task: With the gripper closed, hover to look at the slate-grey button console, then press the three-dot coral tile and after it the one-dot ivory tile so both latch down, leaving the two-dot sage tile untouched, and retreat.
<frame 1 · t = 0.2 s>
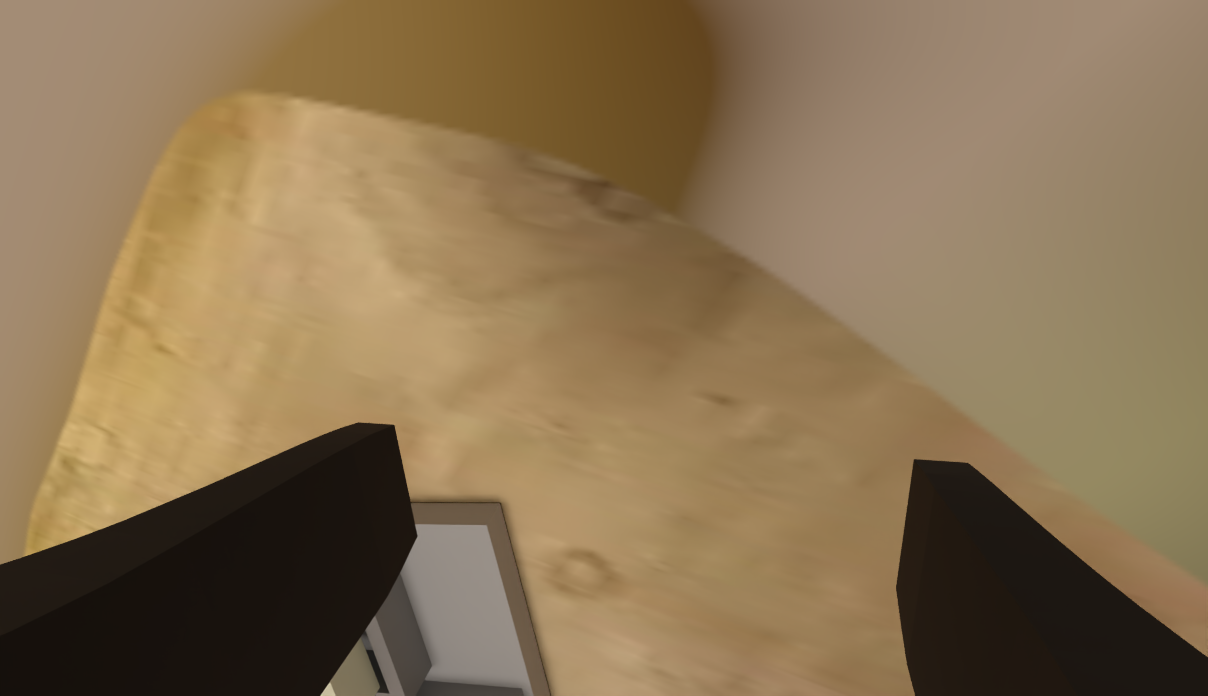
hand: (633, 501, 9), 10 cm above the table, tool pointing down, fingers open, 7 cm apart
tile sage: (289, 659, 23), point 4 cm above the table, slide at 0.0 cm
console: (384, 653, 28), on the table
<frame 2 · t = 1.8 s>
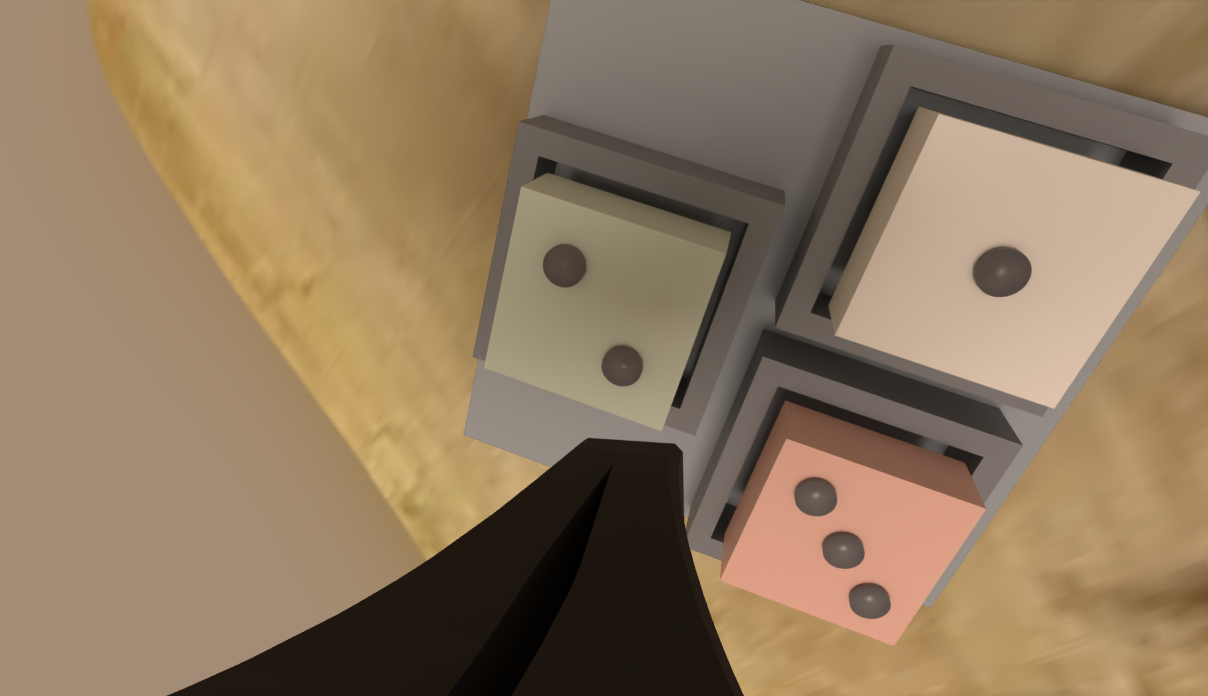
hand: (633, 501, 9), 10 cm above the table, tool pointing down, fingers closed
tile sage: (603, 303, 15), point 4 cm above the table, slide at 0.0 cm
tile ivory: (987, 258, 13), point 4 cm above the table, slide at 0.0 cm
console: (773, 301, 18), on the table
tile coral: (839, 525, 16), point 4 cm above the table, slide at 0.0 cm
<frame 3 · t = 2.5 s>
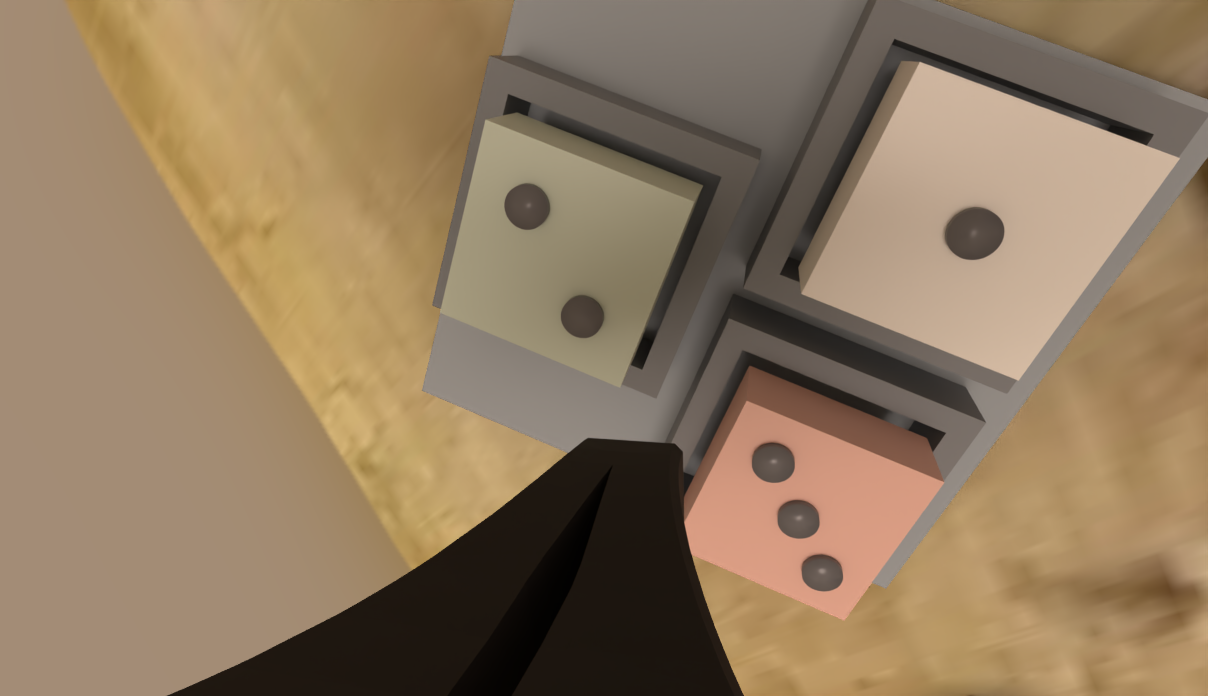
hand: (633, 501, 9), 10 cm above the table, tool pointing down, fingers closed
tile sage: (567, 251, 15), point 4 cm above the table, slide at 0.0 cm
tile ivory: (961, 222, 13), point 4 cm above the table, slide at 0.0 cm
console: (745, 267, 18), on the table
tile coral: (797, 495, 16), point 4 cm above the table, slide at 0.0 cm
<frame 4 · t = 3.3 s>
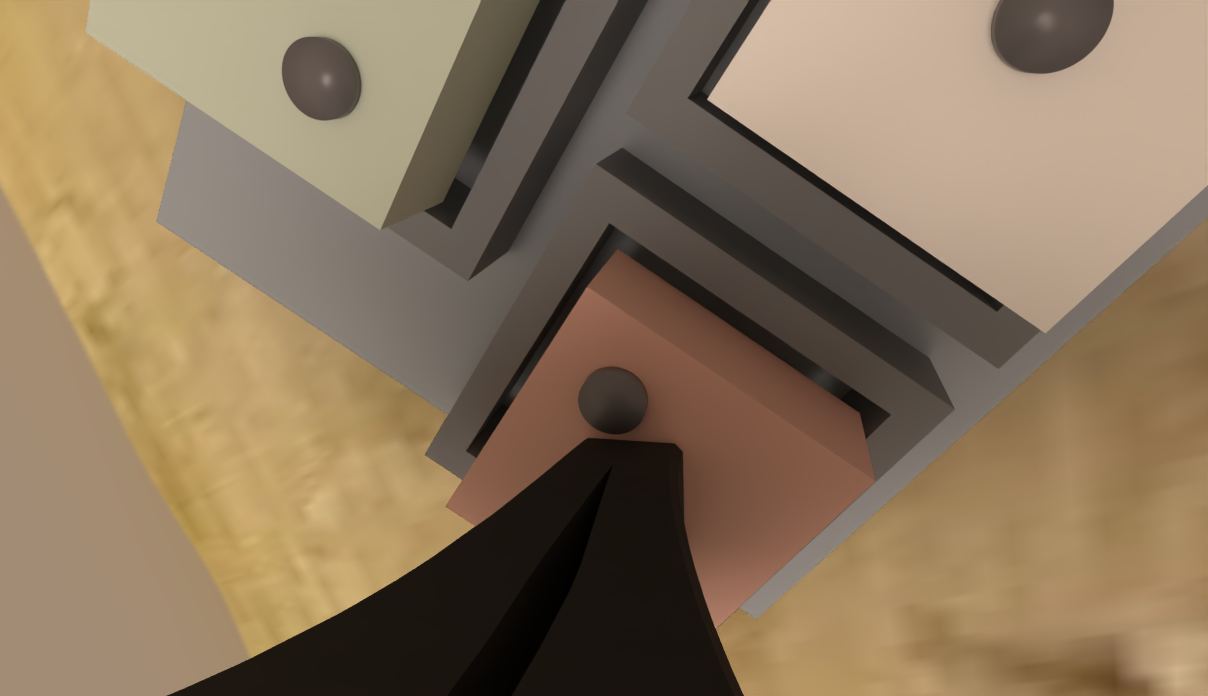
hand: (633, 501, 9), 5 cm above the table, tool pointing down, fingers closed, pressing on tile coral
tile ivory: (1017, 23, 7), point 4 cm above the table, slide at 0.0 cm
console: (652, 122, 12), on the table
tile coral: (648, 463, 10), point 4 cm above the table, slide at -0.2 cm, touching gripper
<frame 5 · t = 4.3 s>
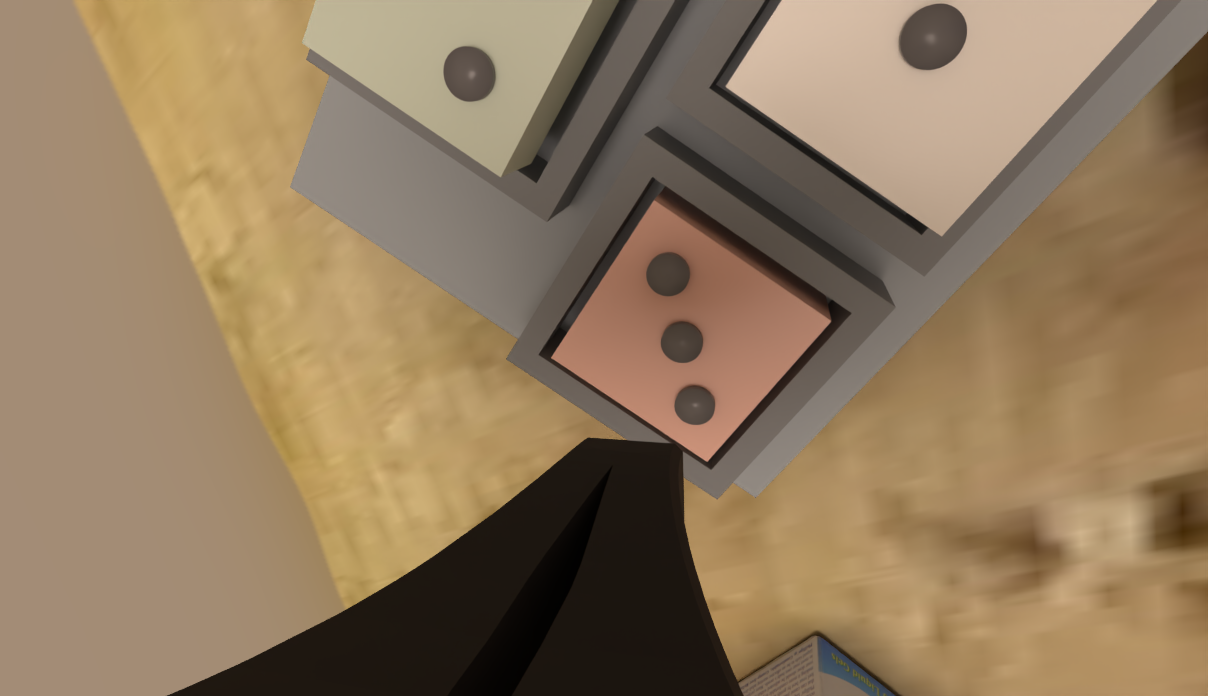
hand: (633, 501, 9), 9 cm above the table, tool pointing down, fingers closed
tile ivory: (920, 38, 11), point 4 cm above the table, slide at 0.0 cm
console: (677, 108, 16), on the table
tile coral: (686, 327, 15), point 2 cm above the table, slide at -1.5 cm
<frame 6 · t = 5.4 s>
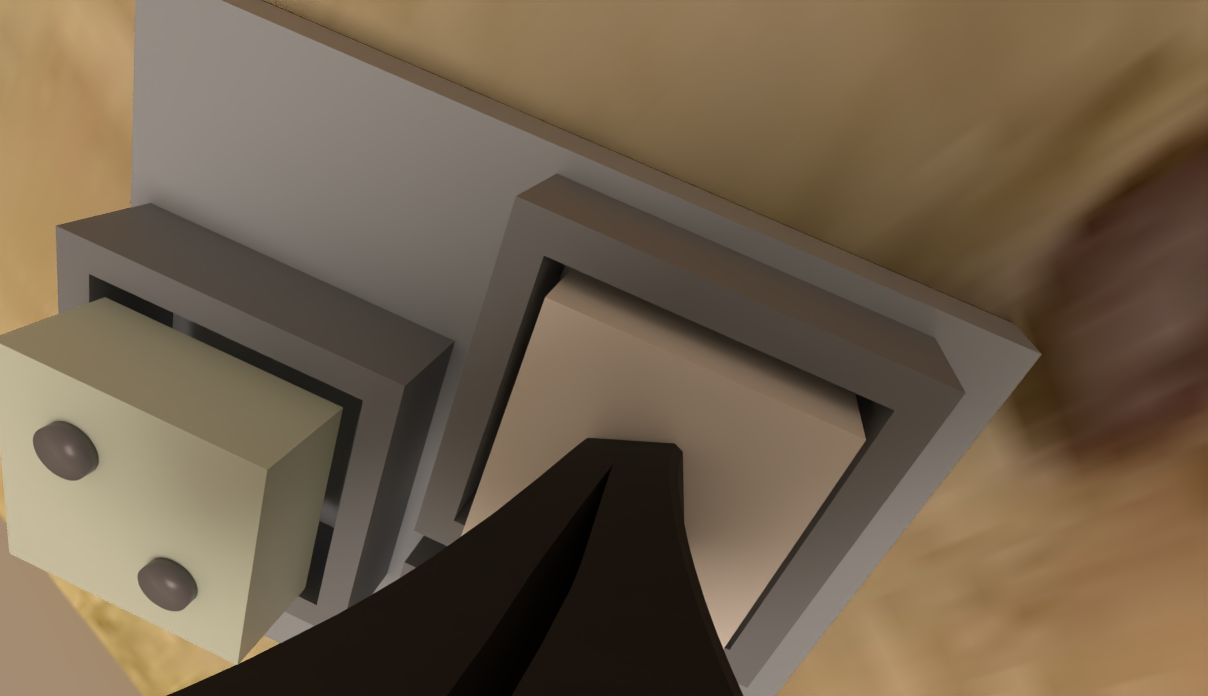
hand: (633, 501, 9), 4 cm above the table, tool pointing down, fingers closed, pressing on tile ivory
tile sage: (166, 486, 11), point 4 cm above the table, slide at 0.0 cm
tile ivory: (649, 462, 10), point 3 cm above the table, slide at -1.3 cm, touching gripper
console: (481, 456, 14), on the table
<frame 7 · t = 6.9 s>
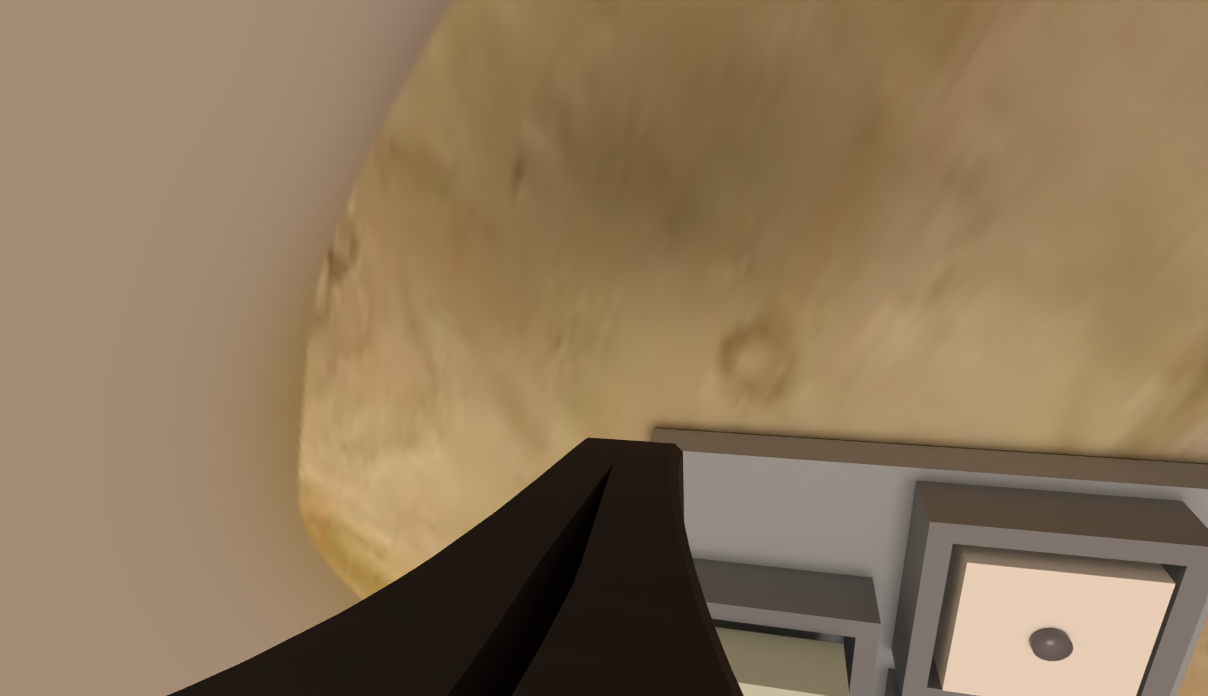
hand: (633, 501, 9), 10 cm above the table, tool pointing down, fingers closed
tile ivory: (1038, 617, 18), point 2 cm above the table, slide at -1.5 cm
console: (887, 629, 22), on the table
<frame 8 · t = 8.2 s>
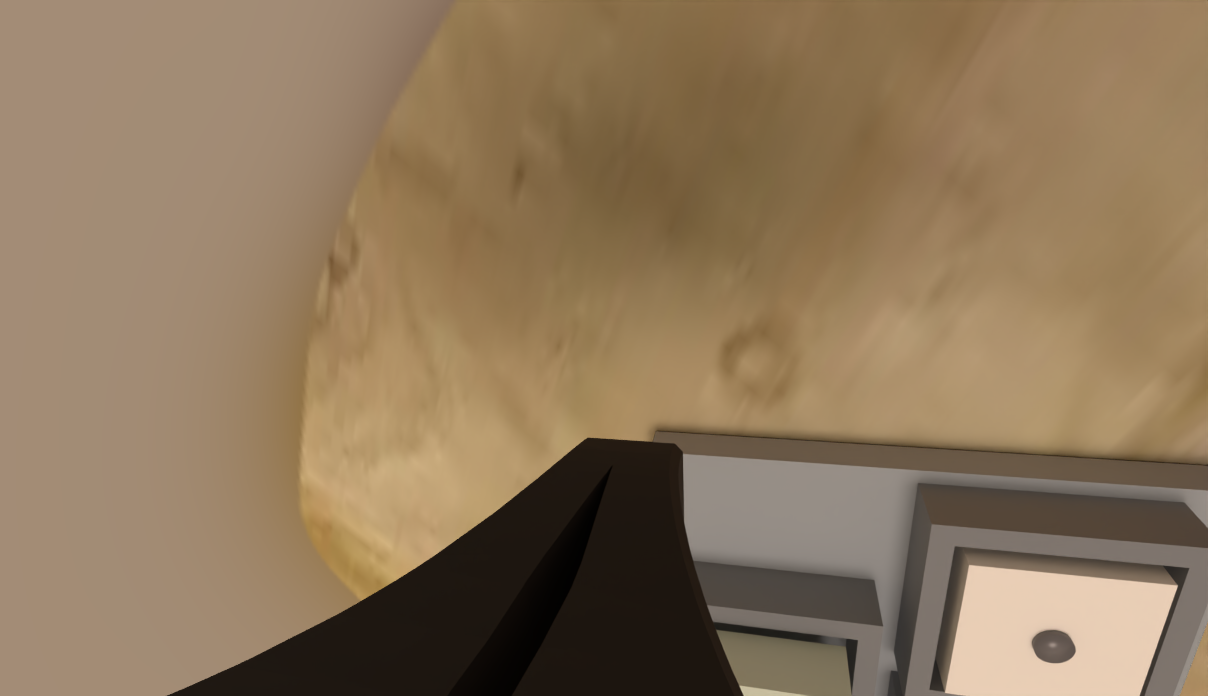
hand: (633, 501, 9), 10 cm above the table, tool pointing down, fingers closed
tile ivory: (1040, 619, 18), point 2 cm above the table, slide at -1.5 cm
console: (889, 631, 22), on the table
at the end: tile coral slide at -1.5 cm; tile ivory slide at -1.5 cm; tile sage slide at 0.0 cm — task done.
